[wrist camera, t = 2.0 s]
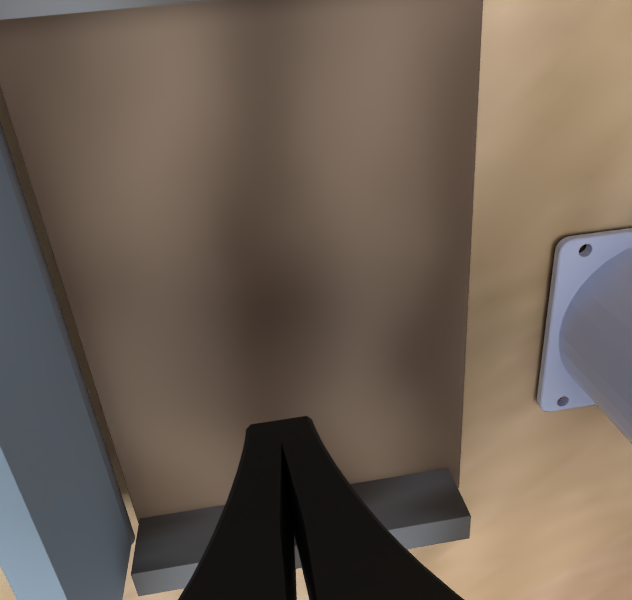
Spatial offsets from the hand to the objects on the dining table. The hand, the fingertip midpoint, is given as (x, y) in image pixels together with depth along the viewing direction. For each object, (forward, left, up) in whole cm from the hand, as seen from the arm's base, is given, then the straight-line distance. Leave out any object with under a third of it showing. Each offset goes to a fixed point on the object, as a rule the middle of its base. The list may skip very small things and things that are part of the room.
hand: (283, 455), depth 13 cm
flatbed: (-1, 0, -9) cm, 9 cm away
